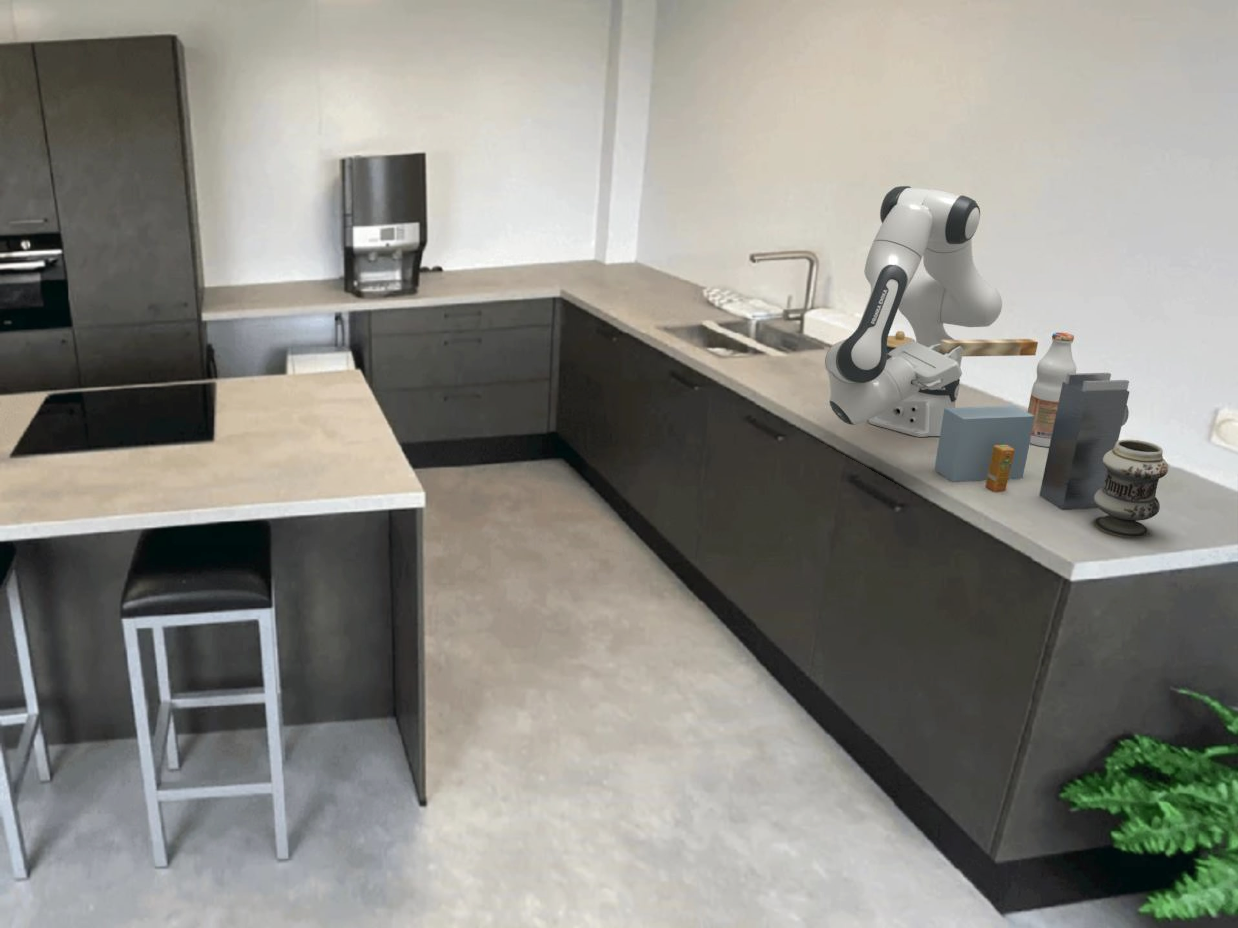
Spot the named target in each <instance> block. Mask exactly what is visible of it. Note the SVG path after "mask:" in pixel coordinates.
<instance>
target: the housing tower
mask: <svg viewBox="0 0 1238 928" xmlns="http://www.w3.org/2000/svg"><path fill="white" fill-rule="evenodd" d="M1111 377H1112V374H1111V373H1109V372H1086V373H1085V372H1084V373H1080V372H1079V373H1076V374H1067V376H1066V381H1065V382H1063V383H1062V388H1061V393H1060V398H1059V403H1058V408H1057V412H1056V417H1055V422H1054V427H1053V432H1052V436H1051V441H1050V446H1049V447H1048V451H1047V457H1046V462H1045V466H1044V471H1043V477H1042V480H1041V485H1040V490H1039V497H1041V498H1043V499H1045V500H1046V501H1047V502H1049V503H1051V504H1053V505H1054V506H1055V507H1057V508H1059V509H1060V510H1061V511H1064V510H1077V509H1078V510H1080V509H1081V510H1082V509H1097V508H1098V506H1097V505H1096V503H1095V501H1094V496H1095V494H1096V492H1097V491H1098V490H1100V489H1101V488H1103V486H1104V483H1105V479H1106V474H1107V468H1106V467H1105V465H1104V463H1103V457H1104V455H1105V454H1106V453H1107V452H1109V451H1110V450H1113V449H1114V447H1115V444H1116V442H1117V441H1119V438H1120V434H1121V431H1122V427H1123V426H1125V425H1126V423H1127V421H1128V418H1129V413H1130V412H1129V407H1128V405H1127V404H1128V400H1129V397H1130V396H1129V395H1130V391H1129V390H1128V388H1129V386H1130V385H1129V384H1130V381H1129V380H1127V379H1117V380H1116V379H1111ZM1098 509H1099V508H1098Z"/></svg>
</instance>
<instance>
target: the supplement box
mask: <svg viewBox="0 0 1238 928" xmlns="http://www.w3.org/2000/svg"><path fill="white" fill-rule="evenodd" d="M1014 451H1015V450H1014V449H1013V448H1011V447H1010V446H1008V445H995V446H994V449H993V453H992V458H991V462H990V467H989V472H988V476H987V480H985V487H986V488H988V489H989V490H990V491H992V492H1001V491H1004V492H1005V491H1006V490H1007V486H1008V481H1009V479H1008V477H1009V473H1010V469H1011V464H1012V460H1013V456H1014Z"/></svg>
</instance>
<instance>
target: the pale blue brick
mask: <svg viewBox="0 0 1238 928" xmlns="http://www.w3.org/2000/svg"><path fill="white" fill-rule="evenodd" d="M1034 419H1035V416H1033V415H1032V414H1030V413H1028V411H1025V410H1024V409H1022V408H1019V407H1018V406H1017V405H999V406H998V405H991V406H989V405H988V406H963V407H962V406H960V407H959V406H958V407H955V408H944V414H943V420H942V426H941V432H940V436H939V439H938V444H937V445H938V446H937V452H936V456H935V457H936V459H935V464H934V470H935V471H936V472H938V473H939V474H941V475H942V476H944V477H945V478H946V479H947V480H949V481H950V482H952V483H955V482H957V483H958V482H973V481H974V482H977V481H987V476H988V472H989V467H990V462H991V458H992V453H993V449H994V446H995V445H1008V446H1010V447H1011V448H1013V449H1014V450H1015V451H1014V456H1013V460H1012V464H1011V469H1010V473H1009V477H1008V480H1013V479H1017V480H1018V479H1023V478H1024V473H1025V468H1026V464H1027V463H1026V462H1027V458H1028V454H1029V449H1030V444H1031V443H1030V439H1031V434H1032V429H1033V424H1034Z"/></svg>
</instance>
